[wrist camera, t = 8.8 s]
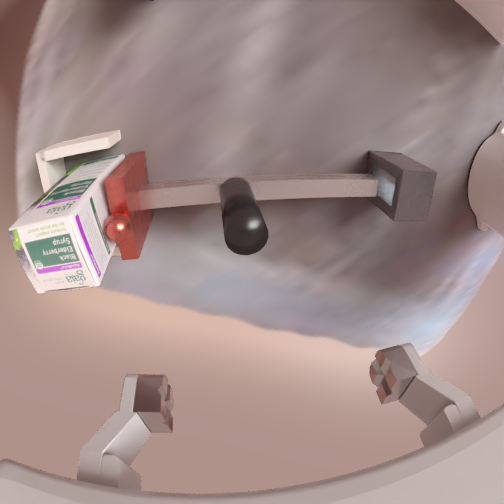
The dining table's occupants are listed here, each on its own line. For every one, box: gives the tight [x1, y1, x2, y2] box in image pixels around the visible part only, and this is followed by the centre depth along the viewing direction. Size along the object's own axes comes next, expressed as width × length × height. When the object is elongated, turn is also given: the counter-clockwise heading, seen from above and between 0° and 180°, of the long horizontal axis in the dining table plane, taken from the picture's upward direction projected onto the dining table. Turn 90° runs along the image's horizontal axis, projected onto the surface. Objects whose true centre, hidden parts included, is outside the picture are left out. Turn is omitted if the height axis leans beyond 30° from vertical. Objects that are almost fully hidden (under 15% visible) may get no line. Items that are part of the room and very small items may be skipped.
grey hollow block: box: [366, 151, 437, 221], centre depth 29 cm, size 4×5×7 cm
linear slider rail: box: [104, 152, 378, 260], centre depth 25 cm, size 24×7×12 cm, turn 91°
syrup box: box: [9, 154, 125, 294], centre depth 22 cm, size 6×6×14 cm
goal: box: [36, 130, 121, 256], centre depth 27 cm, size 8×12×4 cm, turn 1°
